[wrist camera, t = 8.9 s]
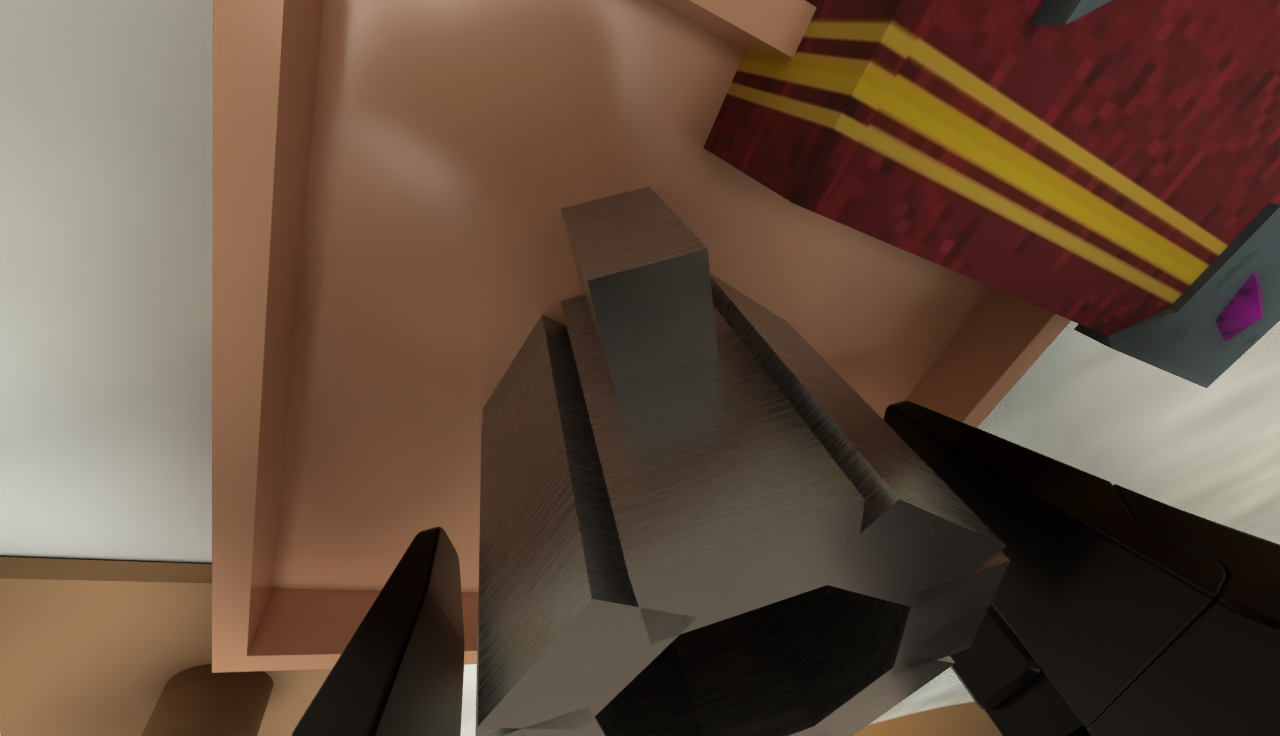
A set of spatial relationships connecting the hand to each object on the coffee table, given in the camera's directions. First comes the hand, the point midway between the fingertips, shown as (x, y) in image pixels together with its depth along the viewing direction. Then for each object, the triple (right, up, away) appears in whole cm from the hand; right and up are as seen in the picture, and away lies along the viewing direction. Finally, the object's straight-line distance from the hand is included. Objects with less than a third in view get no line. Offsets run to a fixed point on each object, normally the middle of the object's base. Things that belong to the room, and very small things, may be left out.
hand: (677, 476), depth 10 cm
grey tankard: (0, +1, +2) cm, 2 cm away
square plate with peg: (-12, -6, +4) cm, 14 cm away
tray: (-1, +2, +2) cm, 3 cm away
